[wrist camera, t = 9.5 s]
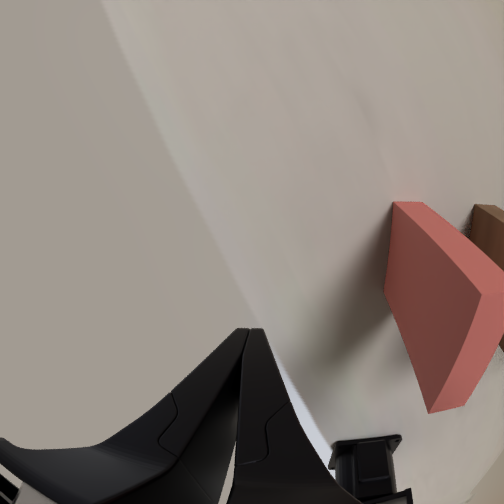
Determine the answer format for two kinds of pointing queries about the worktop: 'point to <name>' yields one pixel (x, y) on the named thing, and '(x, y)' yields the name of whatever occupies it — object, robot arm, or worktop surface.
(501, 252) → the domino
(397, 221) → the domino
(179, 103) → the worktop surface
